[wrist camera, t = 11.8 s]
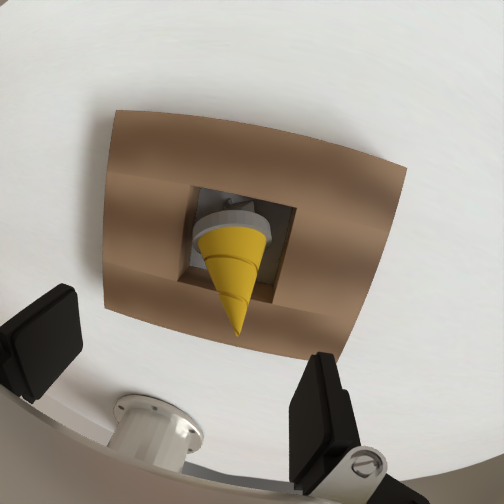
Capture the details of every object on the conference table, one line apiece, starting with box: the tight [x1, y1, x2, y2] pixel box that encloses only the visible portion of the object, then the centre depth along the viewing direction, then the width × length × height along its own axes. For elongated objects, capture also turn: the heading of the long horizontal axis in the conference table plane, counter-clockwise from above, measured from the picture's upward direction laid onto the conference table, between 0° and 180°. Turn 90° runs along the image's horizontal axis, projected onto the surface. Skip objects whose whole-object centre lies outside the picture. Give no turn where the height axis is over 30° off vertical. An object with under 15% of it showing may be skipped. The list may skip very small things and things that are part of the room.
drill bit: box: [192, 199, 272, 336], centre depth 19 cm, size 5×5×10 cm
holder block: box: [103, 110, 407, 363], centre depth 20 cm, size 16×20×3 cm
